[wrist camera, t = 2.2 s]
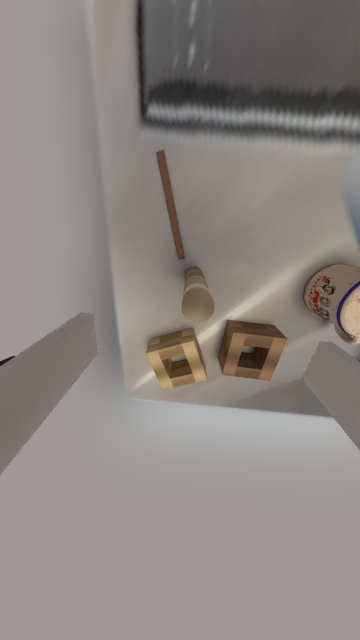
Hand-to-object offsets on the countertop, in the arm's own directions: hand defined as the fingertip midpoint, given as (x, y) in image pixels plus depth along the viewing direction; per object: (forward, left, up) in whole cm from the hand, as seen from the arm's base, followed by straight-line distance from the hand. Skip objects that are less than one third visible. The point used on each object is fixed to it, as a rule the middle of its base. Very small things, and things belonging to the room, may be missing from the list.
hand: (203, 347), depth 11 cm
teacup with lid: (+1, +24, -23) cm, 33 cm away
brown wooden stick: (-9, -5, -22) cm, 25 cm away
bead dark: (+12, +12, -22) cm, 28 cm away
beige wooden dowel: (0, 0, -23) cm, 23 cm away
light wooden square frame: (+16, -1, -22) cm, 28 cm away
